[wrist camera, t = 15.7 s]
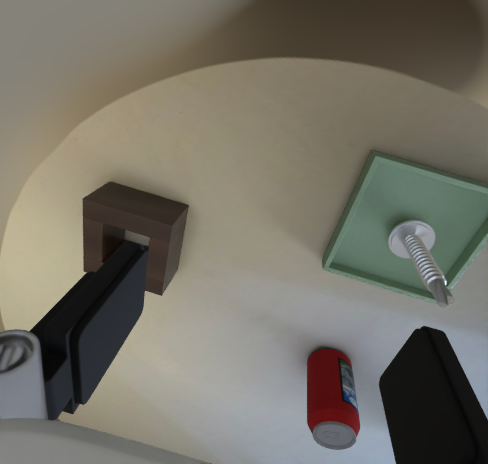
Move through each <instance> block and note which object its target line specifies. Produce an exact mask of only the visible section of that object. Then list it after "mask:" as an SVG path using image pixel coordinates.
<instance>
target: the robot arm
mask: <svg viewBox="0 0 488 464" xmlns="http://www.w3.org/2000/svg"><path fill="white" fill-rule="evenodd" d="M147 257H148V252H147V251H146V250H144V248H143V245H140V244H137V243H133V242H130V241H125V242H124V243H123V244H122V245H121V246H120V247H119V248H118V249H117V250H116V251H115V252H114V253H113V254H112V255H111V256H110V258H109V259H108V260H107V261H106V262H105V263H104V264H103V265H102V266H101V267H100V268H99V269H98V270H97V271H96V272H93V271H90V272H88V273H86V274H85V275H84V276H83V277H82V278H81V279H80V280H79V281H78V282H77V283H76V284H75V285H74V286H73V287H72V288H71V289H70V290H69V291H68V292H67V294H66V295H65V296H64V297H63V298H62V299H61V300H60V301H59V302H58V303H57V304H56V305H55V306H54V307H53V308H52V309H51V310H50V311H49V312H48V313H47V314H46V315H45V316H44V317H43V318H42V319H41V320H40V321H39V322H38V323H37V324H36V325H35V326H34V327H33V328H32V329H31V330H30V331H26V330H17V329H16V330H7V331H3V332H0V464H211V463H208V462H204V461H201V460H197V459H194V458H191V457H187V456H184V455H181V454H177V453H174V452H171V451H167V450H164V449H161V448H157V447H154V446H151V445H147V444H144V443H141V442H137V441H133V440H130V439H126V438H123V437H119V436H115V435H112V434H108V433H105V432H101V431H97V430H94V429H90V428H87V427H82V426H78V425H73V424H69V423H64V422H60V421H53V420H55V419H57V418H58V417H59V415H60V414H61V412H62V411H64V412H67V413H70V414H74V412H75V410H76V409H77V407H78V406H79V404H82V405H84V404H86V403H87V401H88V400H89V398H90V397H91V395H92V393H93V392H94V390H95V389H96V387H97V385H98V384H99V382H100V381H101V379H102V377H103V376H104V374H105V372H106V371H107V369H108V368H109V366H110V364H111V363H112V361H113V359H114V358H115V356H116V355H117V353H118V351H119V350H120V348H121V346H122V345H123V343H124V342H125V340H126V338H127V337H128V335H129V333H130V332H131V330H132V329H133V327H134V325H135V324H136V322H137V321H138V319H139V317H140V315H141V313H142V310H143V305H144V293H145V281H146V269H147ZM379 387H380V392H381V397H382V401H383V406H384V410H385V415H386V420H387V424H388V429H389V433H390V438H391V442H392V447H393V452H394V456H395V461H396V464H488V420H487V418H486V416H485V414H484V411H483V409H482V407H481V405H480V403H479V401H478V399H477V397H476V395H475V393H474V391H473V389H472V387H471V385H470V383H469V381H468V379H467V377H466V375H465V373H464V371H463V369H462V367H461V365H460V363H459V361H458V359H457V356H456V354H455V352H454V350H453V348H452V346H451V344H450V342H449V340H448V338H447V336H446V334H445V333H444V332H443V331H441V330H437V329H434V328H430V327H427V326H423V327H421V328H420V329H416V330H415V331H414V332H413V333H412V334H411V336H410V337H409V339H408V340H407V341H406V343H405V344H404V345H403V347H402V348H401V350H400V351H399V352H398V354H397V355H396V356H395V358H394V359H393V360H392V362H391V363H390V365H389V366H388V367H387V369H386V370H385V371H384V373H383V374H382V376H381V377H380V381H379Z"/></svg>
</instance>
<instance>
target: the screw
mask: <svg viewBox="0 0 488 464" xmlns="http://www.w3.org/2000/svg"><path fill="white" fill-rule="evenodd" d="M434 242H435V233H434V230H433V229H432V227H431V226H430V225H429V224H427V223H426V222H424V221H420V220H408V221H404V222H402V223H399V224H398V225H397V226H395V227H394V228H393V229H392V230H391V232H390V233H389V236H388V245H389V248H390V250H391V251H392V252H393V253H394V254H395V255H397V256H399V257H402V258H411V260H412V262H413V264H414V266H415V268H416V270H417V272H418V274H419V276H420V278H421V280H422V282H423V284H424V286H425V287H426V288H427V290H428V291H430V292H432V294H433V296H434V298H435V300H436V302H437V303H438V305H439V306H440V307H446V306H447V305H449V304H452V303H453V302H454V298H453V296H452V294H451V293H450V291H449V289H448V287H447V286H446V279H445V278H444V275H443V274H442V271H441V270H440V268H439V267H438V265H437V263H436V262H435V260H434V259H433V257H432V256H431V254H430V252H429V250H430V249H431V248H432V246H433V244H434Z"/></svg>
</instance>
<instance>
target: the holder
mask: <svg viewBox="0 0 488 464" xmlns="http://www.w3.org/2000/svg"><path fill="white" fill-rule="evenodd" d="M188 206H189V205H186V204H183V203H180V202H176V201H173V200H170V199H166V198H163V197H160V196H156V195H153V194H150V193H147V192H143V191H140V190H137V189H133V188H130V187H127V186H123V185H120V184H117V183H113V182H108V183H107V184H105V185H103V186H102V187H100V188H99V189H97V190H95V191H94V192H92V193H91V194H89V195H88V196H86V197H84V198H83V248H84V257H83V258H84V272H87V273H88V272H90V271H93V272H96V271H97V270H98V269H99V268H100V267H101V266H102V265H103V264H104V263H105V262H106V261H107V260H108V259H109V258H110V256H111V255H112V254H113V253H114V252H115V251H116V250H117V249H118V248H119V247H120V246H121V245H122V244H123V243H124V242H125V241H127V240H124V232H125V230H128V231H131V232H135V233H138V234H141V235H144V236H148V237H150V241H149V247H147V246H144V245H143V248H144V250H146V251H147V252H148V257H147V269H146V281H145V291H148V292H152V293H155V294H158V295H161V296H162V295H163V293H164V291H165V290H166V288H167V286H168V285H169V283H170V281H171V280H172V278H173V277H174V275H175V273H176V272H177V270H178V264H179V259H180V253H181V247H182V241H183V236H184V230H185V224H186V218H187V212H188ZM130 242H131V241H130ZM133 243H134V242H133Z"/></svg>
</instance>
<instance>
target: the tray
mask: <svg viewBox="0 0 488 464" xmlns="http://www.w3.org/2000/svg"><path fill="white" fill-rule="evenodd" d="M408 220H420V221H424V222H426V223H427V224H429V225H430V226H431V227H432V229H433V230H434V233H435V242H434V244H433V246H432V248H431V249H430V250H429V252H430V254H431V256H432V257H433V259H434V260H435V262H436V263H437V265H438V267H439V268H440V270H441V271H442V274H443V275H444V278H445V279H446V286H447V287H448V289H449V291H450V290H451V289H452V288H453V286H454V285H455V284H456V282H457V281H458V280H459V278H460V277H461V276H462V274H463V273H464V272H465V270H466V269H467V268H468V266H469V265H470V264H471V262H472V261H473V260H474V258H475V257H476V256H477V254H478V253H479V252H480V250H481V249H482V248H483V246H484V245H485V244H486V242H487V241H488V184H486V183H483V182H480V181H476V180H473V179H469V178H466V177H462V176H459V175H456V174H452V173H449V172H445V171H442V170H438V169H435V168H432V167H428V166H425V165H421V164H418V163H414V162H411V161H408V160H404V159H401V158H397V157H394V156H390V155H387V154H384V153H380V152H377V151H373V150H372V151H371V153H370V155H369V157H368V160H367V162H366V164H365V166H364V168H363V171H362V173H361V175H360V177H359V179H358V182H357V184H356V186H355V188H354V190H353V193H352V195H351V197H350V199H349V201H348V204H347V206H346V208H345V210H344V213H343V215H342V217H341V219H340V221H339V224H338V226H337V228H336V230H335V232H334V235H333V237H332V239H331V241H330V243H329V246H328V248H327V250H326V252H325V254H324V257H323V259H322V265H323V270H326V271H329V272H333V273H336V274H339V275H342V276H346V277H349V278H352V279H356V280H359V281H362V282H365V283H369V284H372V285H375V286H378V287H382V288H385V289H388V290H392V291H395V292H398V293H401V294H405V295H408V296H411V297H415V298H418V299H421V300H424V301H428V302H431V303H434V304H438V303H437V302H436V300H435V298H434V296H433V294H432V292H430V291H428V290H427V288H426V287H425V286H424V284H423V282H422V280H421V278H420V276H419V274H418V272H417V270H416V268H415V266H414V264H413V262H412V260H411V258H402V257H399V256H397V255H395V254H394V253H393V252H392V251H391V250H390V248H389V245H388V236H389V233H390V232H391V230H392V229H393V228H394V227H395V226H397V225H398V224H399V223H402V222H404V221H408Z"/></svg>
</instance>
